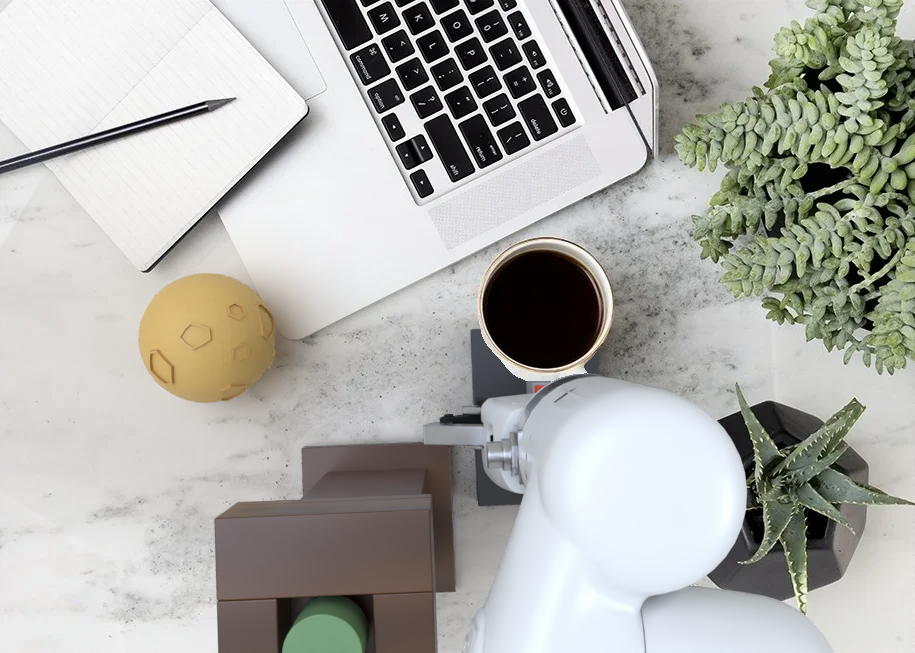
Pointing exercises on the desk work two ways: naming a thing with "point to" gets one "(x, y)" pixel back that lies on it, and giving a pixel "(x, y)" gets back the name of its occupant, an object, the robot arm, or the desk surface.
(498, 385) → the gadget
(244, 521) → the brown blocky frame
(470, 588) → the desk surface
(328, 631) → the green button
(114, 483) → the desk surface
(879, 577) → the desk surface
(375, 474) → the post
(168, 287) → the stress ball
